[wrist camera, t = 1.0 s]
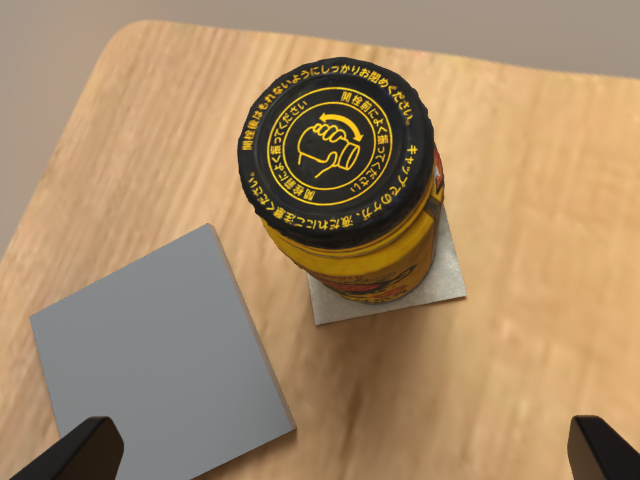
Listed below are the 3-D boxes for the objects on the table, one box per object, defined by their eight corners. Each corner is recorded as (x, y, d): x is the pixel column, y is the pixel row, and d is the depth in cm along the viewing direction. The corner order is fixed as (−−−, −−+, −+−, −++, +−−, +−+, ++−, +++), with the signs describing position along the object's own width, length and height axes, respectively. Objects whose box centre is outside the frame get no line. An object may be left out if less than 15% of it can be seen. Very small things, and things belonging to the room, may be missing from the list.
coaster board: (296, 427, 22) (292, 430, 21) (95, 524, 23) (84, 530, 22) (214, 226, 25) (207, 222, 24) (40, 317, 26) (29, 316, 25)
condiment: (316, 325, 23) (216, 297, 11) (289, 168, 25) (183, 13, 14) (466, 296, 22) (523, 232, 10) (424, 134, 24) (432, -64, 13)
